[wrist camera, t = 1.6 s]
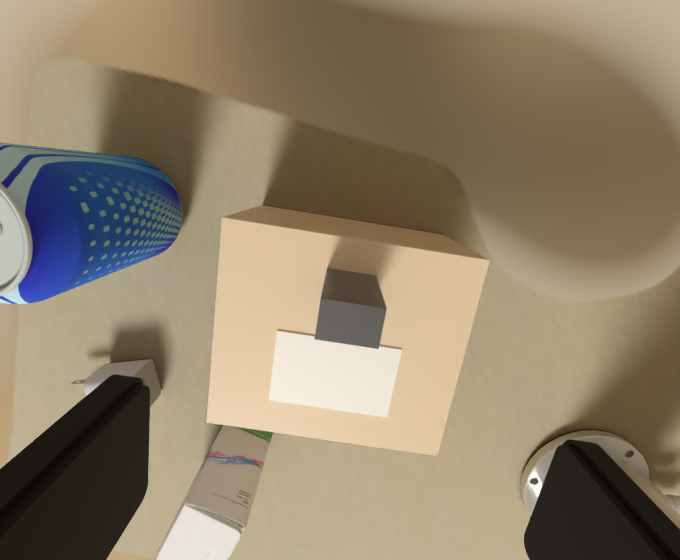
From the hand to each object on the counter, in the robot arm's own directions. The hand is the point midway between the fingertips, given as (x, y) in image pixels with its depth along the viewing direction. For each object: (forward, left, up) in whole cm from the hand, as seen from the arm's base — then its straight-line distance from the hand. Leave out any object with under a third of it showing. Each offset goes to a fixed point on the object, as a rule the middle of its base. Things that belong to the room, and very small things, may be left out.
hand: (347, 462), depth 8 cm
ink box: (+8, +22, -26) cm, 35 cm away
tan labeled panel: (0, +4, -15) cm, 16 cm away
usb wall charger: (+20, +16, -26) cm, 36 cm away
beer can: (+18, -1, -26) cm, 32 cm away
